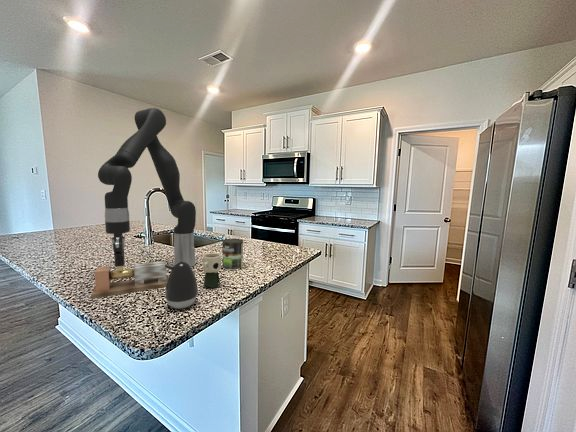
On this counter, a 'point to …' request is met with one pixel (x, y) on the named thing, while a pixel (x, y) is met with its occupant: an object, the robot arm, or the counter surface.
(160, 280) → the sleeve stand
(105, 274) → the socket block
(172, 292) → the dark grey egg-shaped piece
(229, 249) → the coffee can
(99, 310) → the counter surface
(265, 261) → the counter surface
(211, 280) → the character mug
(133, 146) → the robot arm
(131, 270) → the gold and grey t-piece
